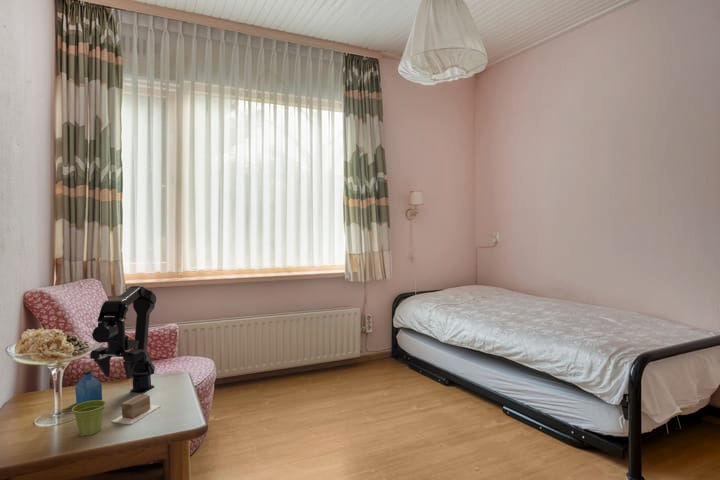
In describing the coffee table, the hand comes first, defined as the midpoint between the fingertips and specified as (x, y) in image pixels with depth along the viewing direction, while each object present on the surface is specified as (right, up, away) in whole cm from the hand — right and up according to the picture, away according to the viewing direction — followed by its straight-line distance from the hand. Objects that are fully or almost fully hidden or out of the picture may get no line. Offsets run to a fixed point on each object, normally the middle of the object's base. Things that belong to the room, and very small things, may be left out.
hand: (118, 377), depth 158 cm
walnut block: (+8, -12, -4) cm, 15 cm away
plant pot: (-1, -13, -16) cm, 20 cm away
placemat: (+9, -12, -4) cm, 15 cm away
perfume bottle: (-16, -12, +9) cm, 22 cm away
